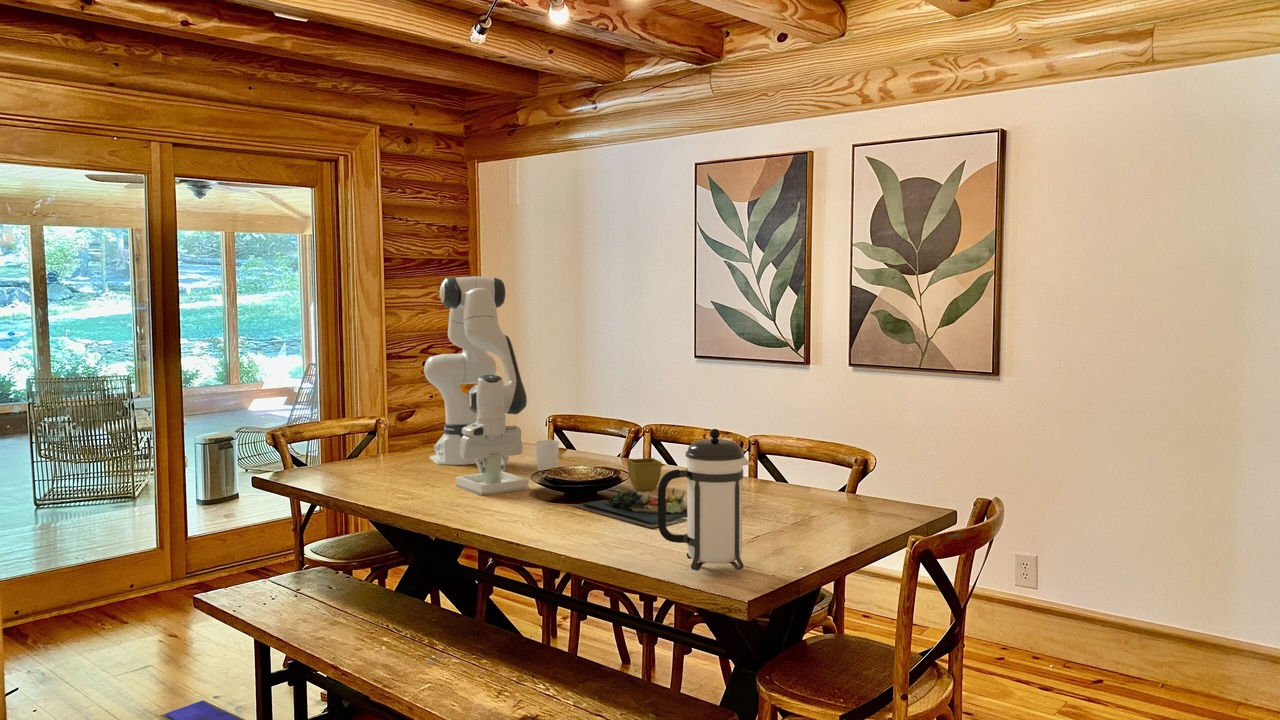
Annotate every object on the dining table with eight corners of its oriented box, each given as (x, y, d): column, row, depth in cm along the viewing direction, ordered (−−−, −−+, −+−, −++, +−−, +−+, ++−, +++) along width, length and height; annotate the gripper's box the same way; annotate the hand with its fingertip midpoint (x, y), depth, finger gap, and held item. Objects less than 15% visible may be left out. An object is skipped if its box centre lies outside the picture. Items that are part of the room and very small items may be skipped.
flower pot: (626, 487, 293) (626, 459, 293) (653, 485, 296) (653, 457, 295) (635, 493, 285) (635, 463, 284) (662, 491, 288) (662, 462, 287)
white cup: (557, 472, 319) (557, 443, 319) (534, 472, 319) (534, 443, 319) (560, 468, 327) (559, 440, 326) (537, 468, 327) (537, 440, 327)
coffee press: (709, 550, 219) (709, 422, 217) (762, 564, 207) (763, 428, 205) (655, 564, 207) (655, 429, 205) (709, 580, 195) (709, 436, 194)
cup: (479, 481, 294) (479, 452, 293) (496, 479, 297) (495, 451, 297) (487, 484, 289) (487, 455, 289) (504, 482, 293) (504, 453, 292)
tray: (456, 486, 296) (456, 476, 296) (501, 480, 305) (501, 471, 305) (481, 495, 281) (481, 485, 281) (528, 489, 291) (528, 479, 290)
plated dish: (726, 513, 261) (726, 487, 261) (652, 530, 242) (652, 502, 242) (640, 494, 287) (640, 471, 286) (568, 508, 268) (567, 483, 267)
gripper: (516, 423, 301) (516, 466, 302) (456, 429, 289) (457, 473, 290) (525, 426, 296) (526, 469, 297) (465, 431, 284) (466, 476, 285)
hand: (491, 471), depth 293 cm, fingers closed on cup, 5 cm apart
